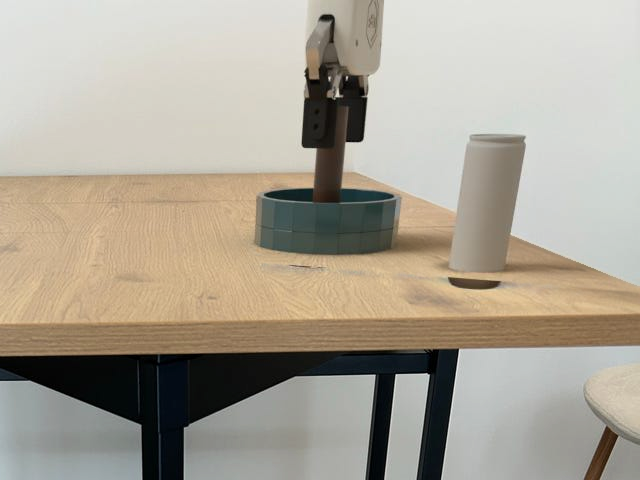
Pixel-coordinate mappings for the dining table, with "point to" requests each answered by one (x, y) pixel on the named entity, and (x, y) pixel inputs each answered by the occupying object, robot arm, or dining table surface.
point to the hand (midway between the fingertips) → (333, 144)
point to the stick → (331, 165)
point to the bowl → (327, 222)
